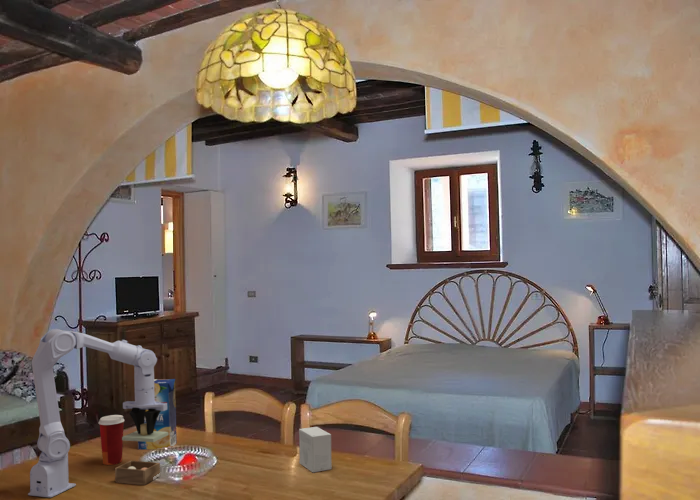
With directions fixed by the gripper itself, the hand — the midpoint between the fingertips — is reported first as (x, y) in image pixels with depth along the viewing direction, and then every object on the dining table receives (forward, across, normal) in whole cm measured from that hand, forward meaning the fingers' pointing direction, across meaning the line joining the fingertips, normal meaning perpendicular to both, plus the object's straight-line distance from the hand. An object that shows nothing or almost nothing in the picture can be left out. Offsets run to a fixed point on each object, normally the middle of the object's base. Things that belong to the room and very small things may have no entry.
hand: (145, 433), depth 190 cm
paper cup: (+11, +14, -2) cm, 18 cm away
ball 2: (+8, -6, +9) cm, 14 cm away
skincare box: (+11, -50, -13) cm, 53 cm away
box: (+10, -4, +9) cm, 15 cm away
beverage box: (+11, +10, -20) cm, 25 cm away
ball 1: (+8, -2, +9) cm, 13 cm away
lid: (+1, 0, 0) cm, 1 cm away
